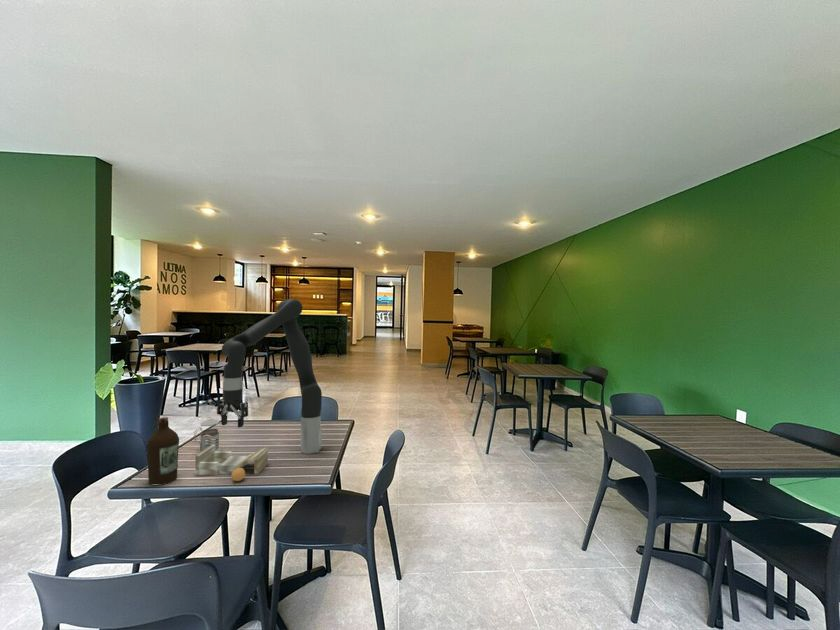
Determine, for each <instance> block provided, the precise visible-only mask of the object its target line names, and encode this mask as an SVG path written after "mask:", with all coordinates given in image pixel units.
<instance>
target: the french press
mask: <svg viewBox="0 0 840 630" xmlns="http://www.w3.org/2000/svg"><path fill="white" fill-rule="evenodd" d="M207 403H209V404H211V403H213V400H212V399H208V400H207ZM218 424H220V421H219V419H215V418H209V419H206V420H204V421H202V422H200V426H201V427H200V426H199V427H198V428H196V429H195V430H194V432H193V439H194V441H195V442H196V443H198V444H199V451H198V452H197V455H198V454H199V453H201V452H202V451H204V450H205V449H207V448H208V447H210V446H211V445H215V451H216V452H221V450H222V448H221V447H220V432H219V429H217V428H209V429H208V428H207V429H204V430H203V428H202V427H211V426H216V425H218ZM199 430H200V431H201V432H200V433H201V434H200V441H198V440H197V439H196V437H197V436H196V435H197V434H198V431H199Z"/></svg>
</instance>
